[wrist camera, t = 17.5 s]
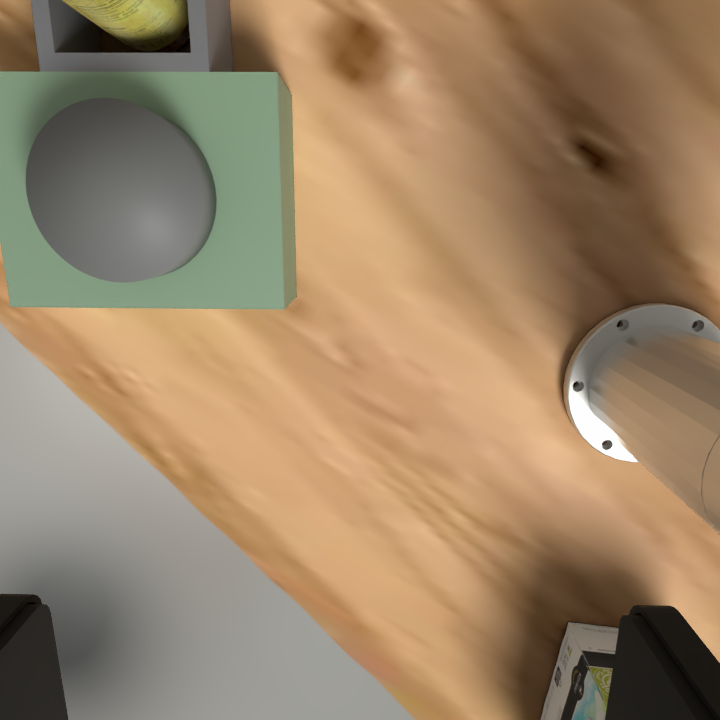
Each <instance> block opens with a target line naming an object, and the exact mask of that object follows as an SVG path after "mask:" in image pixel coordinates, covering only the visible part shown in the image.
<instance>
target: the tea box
mask: <svg viewBox="0 0 720 720" xmlns="http://www.w3.org/2000/svg"><path fill="white" fill-rule="evenodd" d="M618 631H619V628H614V627H606V626H597V625H590V624H581V623H571V622H568V626H567V630H566V633H565V636H564V639H563V641H562V645H561V648H560V652H559V656H558V660H557V663H556V666H555V669H554V672H553V676H552V680H551V685H550V688H549V691H548V694H547V697H546V700H545V704H544V708H543V713H542V716H541V720H605V716H606V709H607V703H608V696H609V690H610V683H611V677H612V670H613V663H614V657H615V650H616V644H617V637H618Z"/></svg>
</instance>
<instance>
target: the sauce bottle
mask: <svg viewBox="0 0 720 720" xmlns="http://www.w3.org/2000/svg"><path fill="white" fill-rule="evenodd" d="M62 1H63V2H65V3H66V4H68V5H69V6H70V7H72V8H73V9H75V10H76V11H78V12H79V13H80V14H82V15H83V16H85V17H86V18H87V19H89V20H90V21H92V22H93V23H95V24H96V25H98V26H99V27H100V28H102V29H103V30H105V31H106V32H108V33H109V34H111V35H112V36H113V37H115V38H116V39H117V40H119V41H120V42H122V43H124V44H126V45H127V46H129V47H131V48H133V49H134V50H136V51H139V52H142V53H172V52H174V51H176V50H177V49H178V48H180V47H182V46H183V45H184V43H185V42H186V41H187V40H188V39H189V38H190V32H189V17H188V1H187V0H62Z"/></svg>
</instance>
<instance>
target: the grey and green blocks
mask: <svg viewBox="0 0 720 720" xmlns="http://www.w3.org/2000/svg"><path fill="white" fill-rule="evenodd" d="M187 1H188V17H189V32H190V47H191V53H101V46H100V36H99V27H98V25H96V24H95V23H93V22H92V21H90V20H89V19H87V18H86V17H85V16H83V15H82V14H80V13H79V12H78V11H76V10H75V9H73V8H72V7H70V6H69V5H68V4H66V3H65V2H63V1H62V0H31V6H32V14H33V21H34V29H35V37H36V44H37V52H38V59H39V67H40V72H16V71H0V243H1V250H2V256H3V262H4V268H5V275H6V281H7V287H8V293H9V300H10V306H11V307H70V308H181V309H285V308H286V307H287V306H288V305H289V304H290V303H291V302H292V301H293V300H294V299H295V298H296V297H297V292H296V250H295V208H294V167H293V125H292V95H291V93H290V91H289V90H288V88H287V87H286V85H285V83H284V82H283V80H282V79H281V77H280V76H279V74H278V72H233V59H232V38H231V18H230V0H187Z"/></svg>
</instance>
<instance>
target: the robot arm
mask: <svg viewBox="0 0 720 720" xmlns="http://www.w3.org/2000/svg"><path fill="white" fill-rule="evenodd" d="M619 321H620V322H621V323H620V325H619V326H617V323H618V322H619ZM693 323H694V325H693ZM692 325H693V326H692ZM576 381H577V384H576V385H575V386H573V384H574V383H575V382H576ZM563 390H564V403H565V407H566V411H567V415H568V417H569V419H570V421H571V423H572V424H573V426H574V428H575V429H576V430H577V432H578V433H579V434H580V435H581V437H582V438H583V439H584V440H585V441H586V442H588V443H589V444H590V445H591V446H592V447H593V448H595V449H596V450H597V451H599V452H600V453H602V454H604V455H607V456H609V457H612V458H614V459H617V460H622V461H627V462H639V463H641V464H642V465H643V466H644V467H645V468H646V469H647V470H648V471H649V472H651V473H652V474H653V475H654V476H655V477H656V478H657V479H658V480H659V481H660V482H662V483H663V484H664V485H665V486H666V487H667V488H668V489H669V490H670V491H672V492H673V493H674V494H675V495H676V496H677V497H678V498H679V499H680V500H682V501H683V502H684V503H685V504H686V505H687V506H688V507H689V508H690V509H692V510H693V511H694V512H695V513H696V514H697V515H698V516H699V517H700V518H702V519H703V520H704V521H705V522H706V523H707V524H708V525H709V526H710V527H711V528H713V529H714V530H715V531H716V532H717V533H718V534H719V535H720V330H719V328H718V327H716V326H715V325H714V324H713V323H712V322H711V321H710V320H709V319H708V318H706V317H704V316H702V315H700V314H699V313H697V312H695V311H693V310H690V309H687V308H683V307H680V306H675V305H670V304H666V303H648V304H642V305H637V306H632V307H629V308H626V309H624V310H621V311H618V312H616V313H614V314H613V315H611V316H609V317H607V318H606V319H604V320H602V321H601V322H600V323H599V324H597V325H596V326H595V327H594V328H593V329H591V330H590V331H589V332H588V333H587V335H586V336H585V337H584V338H583V339H582V340H581V342H580V343H579V344H578V346H577V348H576V349H575V351H574V353H573V355H572V356H571V358H570V361H569V364H568V367H567V369H566V373H565V379H564V386H563ZM604 440H605V441H604ZM603 441H604V442H603ZM602 442H603V443H602ZM0 720H68V715H67V709H66V703H65V697H64V691H63V685H62V679H61V673H60V667H59V661H58V655H57V649H56V642H55V636H54V631H53V625H52V618H51V613H50V609H49V607H48V606H47V605H44V604H42V603H41V599H40V598H39V597H38V596H37V595H29V594H28V595H27V594H24V595H23V594H0ZM605 720H720V663H719V662H718V661H717V659H716V658H715V657H714V656H713V654H712V653H711V652H710V650H709V649H708V648H707V647H706V645H705V644H704V643H703V642H702V640H701V639H700V638H699V637H698V635H697V634H696V633H695V631H694V630H693V629H692V628H691V626H690V625H689V624H688V623H687V621H686V620H685V619H684V617H683V616H682V615H681V614H680V612H679V611H678V610H677V609H675V608H674V607H672V606H647V605H636V606H633V608H632V609H631V611H630V615H623V616H622V617H621V620H620V624H619V631H618V637H617V644H616V650H615V657H614V663H613V670H612V677H611V683H610V690H609V696H608V703H607V709H606V716H605Z"/></svg>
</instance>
